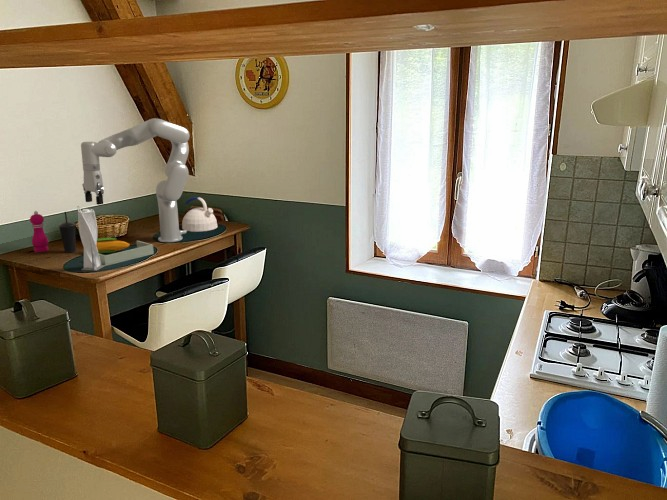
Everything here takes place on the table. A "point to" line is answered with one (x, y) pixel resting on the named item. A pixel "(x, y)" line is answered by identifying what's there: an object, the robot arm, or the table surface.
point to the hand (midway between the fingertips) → (94, 202)
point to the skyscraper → (89, 239)
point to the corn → (110, 245)
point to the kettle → (199, 218)
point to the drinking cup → (68, 236)
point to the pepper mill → (38, 233)
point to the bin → (127, 254)
